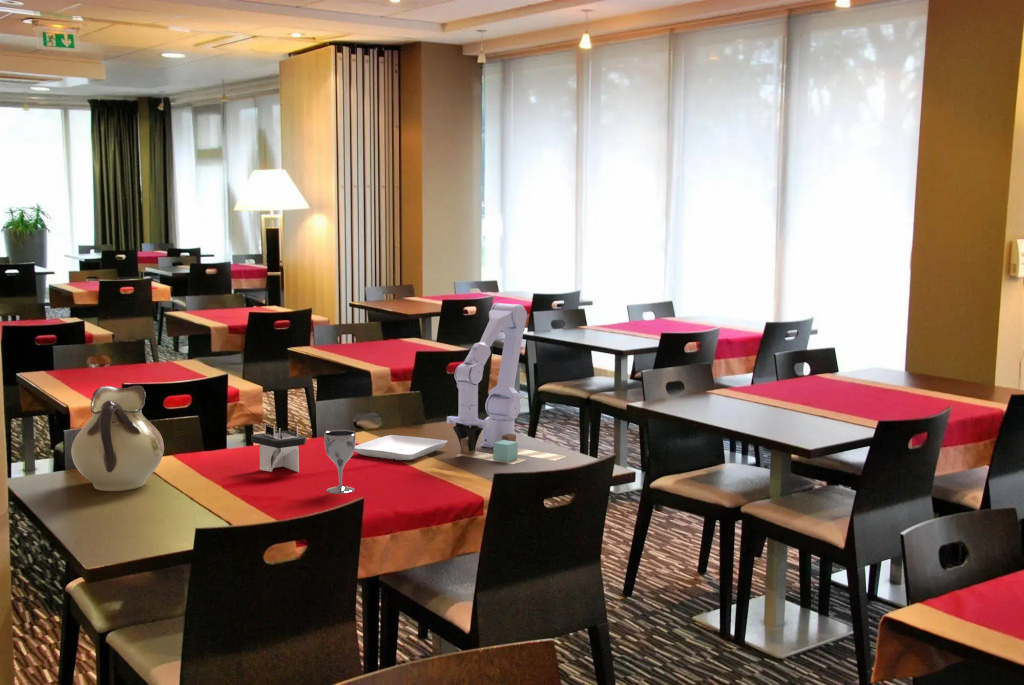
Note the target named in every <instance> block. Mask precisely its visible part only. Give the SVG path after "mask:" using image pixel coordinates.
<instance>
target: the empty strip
mask: <svg viewBox="0 0 1024 685" xmlns="http://www.w3.org/2000/svg"><path fill="white" fill-rule="evenodd" d="M502 440H507V441H514V442H517V435H516V434H515V433H514V434H506V435H503V436H502ZM518 456H523V457H531V458H537V459H542V460H549V461H557V460H561V459H563V458H567V457H568V456H567V455H562V454H556V453H549V452H543V451H538V450H537V451H536V450H531V449H524V448H519V447H518Z"/></svg>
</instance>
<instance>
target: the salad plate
mask: <svg viewBox="0 0 1024 685" xmlns="http://www.w3.org/2000/svg"><path fill="white" fill-rule="evenodd" d="M447 443H448V440H447V439H446V440H443V439H435V438H427V437H418V436H408V435H406V436H405V435H397V434H396V435H394V434H389V435H385V436H381V437H378V438H374V439H371V440H369V441H365V442H363V443H360V444H357V445H356V444H355V449H354V453H357V454H359V455H362V456H365V457H366V456H367V457H371V458H378V457H379V458H380V459H385V458H386V459H387V460H393V459H395V460H394V461H401V460H406V461H407V460H409V461H413V460H417V459H419V458H421V456H422V457H425V456H427V455H430V454H432V453H434V452H436V451H438V450H440V449H442V448H443V447H444V446H445V445H447ZM424 455H425V456H424ZM418 457H419V458H418ZM386 459H385V460H386ZM406 461H405V462H406Z"/></svg>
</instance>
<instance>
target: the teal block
mask: <svg viewBox="0 0 1024 685" xmlns="http://www.w3.org/2000/svg"><path fill="white" fill-rule="evenodd" d="M518 443H519V442H518V441H516V442H514V441H507V440H501V441H498V442H494V443H493V447H492V448H493V452H492V454H493V460H497V461H503V462H510V461H513V460H516V459H518V458H519V455H518V448H519V446H518V445H519V444H518Z"/></svg>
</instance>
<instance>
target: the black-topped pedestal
mask: <svg viewBox="0 0 1024 685" xmlns="http://www.w3.org/2000/svg"><path fill="white" fill-rule="evenodd" d="M250 435H251V438H250V439H251V441H250V442H251V443H253V444H258V445H259V470H260V471H266V472H271V473H272V472H273V470H274V469H275V468H281V467H283V468H286V469H289V470H291V471H294V472H297V473H299V472H300V466H299V463H300V460H299V459H300V457H299V454H300V453H299V446H304V445H306V443H307V442H306V441H307V440H306V436H304V435H302V434H299V426H298V425H297V426H291V427H285V428H281V427H280V428H279V429H277V428H276V426H272V425H270V424H268V423H264V432H263V433H262V432H261V433H255V434H250Z"/></svg>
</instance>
